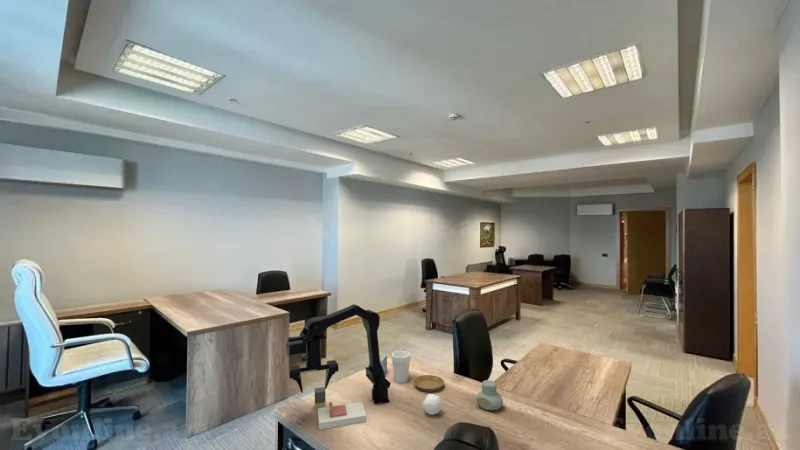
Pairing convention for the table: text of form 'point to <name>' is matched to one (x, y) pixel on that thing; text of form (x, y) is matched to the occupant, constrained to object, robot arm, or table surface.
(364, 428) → the table surface
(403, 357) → the foam cup
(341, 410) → the pink toy block
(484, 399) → the air freshener
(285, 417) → the table surface
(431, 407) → the crumpled paper ball
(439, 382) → the plant saucer
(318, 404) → the plug
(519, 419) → the table surface
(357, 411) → the socket plate
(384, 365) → the medicine box
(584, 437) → the table surface
